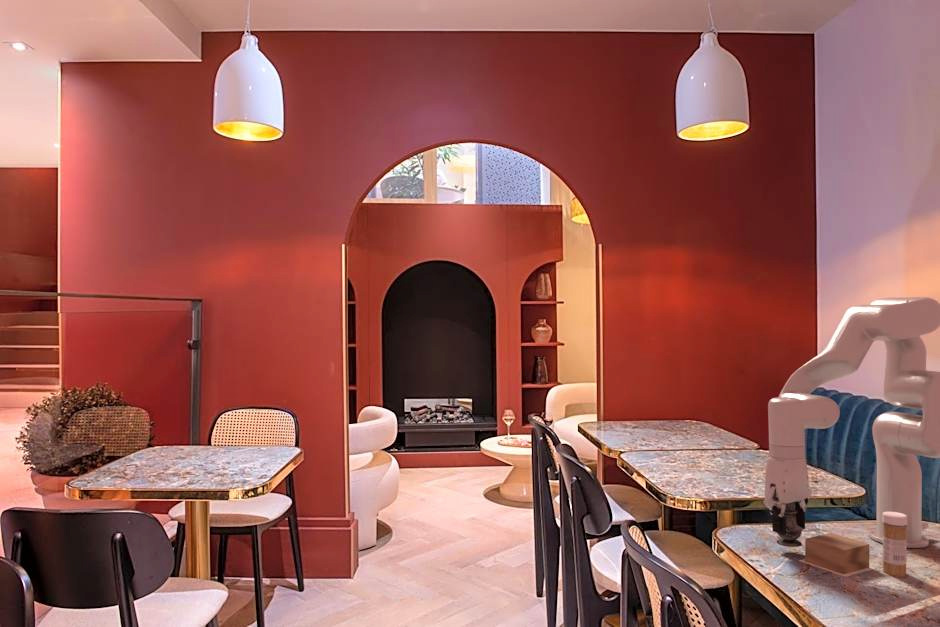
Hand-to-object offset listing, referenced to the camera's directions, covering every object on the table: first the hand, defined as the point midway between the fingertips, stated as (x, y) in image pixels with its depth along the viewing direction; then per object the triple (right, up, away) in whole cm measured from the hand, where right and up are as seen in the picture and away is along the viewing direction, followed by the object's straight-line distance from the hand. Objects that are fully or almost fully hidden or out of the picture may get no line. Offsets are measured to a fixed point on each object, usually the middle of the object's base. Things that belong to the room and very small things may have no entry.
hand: (788, 529), depth 162 cm
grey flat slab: (+6, -6, -8) cm, 12 cm away
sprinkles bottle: (+17, -7, -12) cm, 22 cm away
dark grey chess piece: (0, -3, 0) cm, 3 cm away
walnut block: (+7, -5, -7) cm, 12 cm away
